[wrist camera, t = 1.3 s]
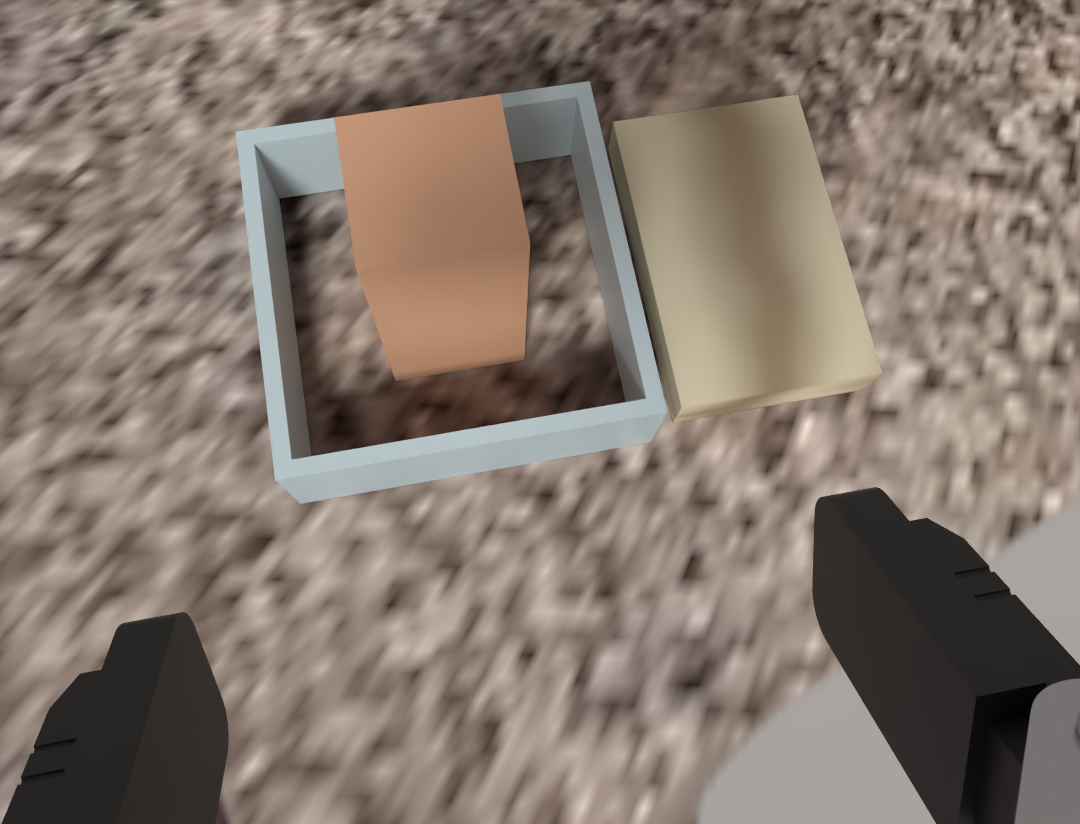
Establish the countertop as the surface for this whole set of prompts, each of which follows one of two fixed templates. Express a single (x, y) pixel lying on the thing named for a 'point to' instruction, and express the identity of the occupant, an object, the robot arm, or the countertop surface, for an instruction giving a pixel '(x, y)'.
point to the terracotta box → (438, 233)
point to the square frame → (534, 133)
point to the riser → (739, 258)
